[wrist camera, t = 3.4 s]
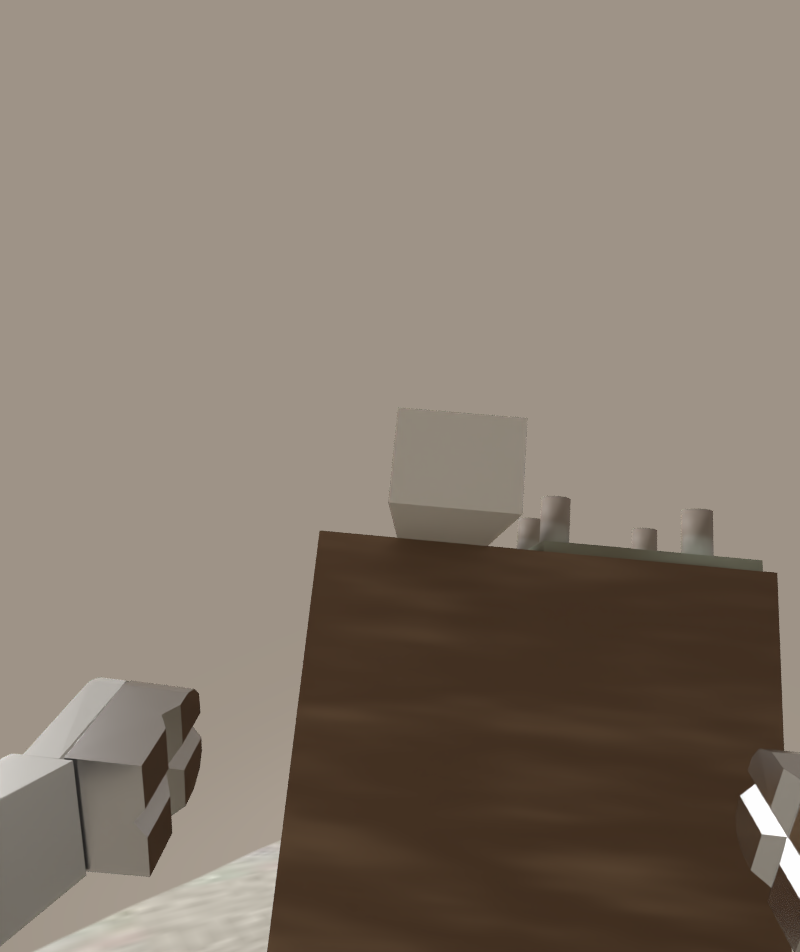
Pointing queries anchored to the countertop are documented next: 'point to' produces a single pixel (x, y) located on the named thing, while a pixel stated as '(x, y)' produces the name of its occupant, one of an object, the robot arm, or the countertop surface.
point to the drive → (456, 475)
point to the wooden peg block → (529, 746)
